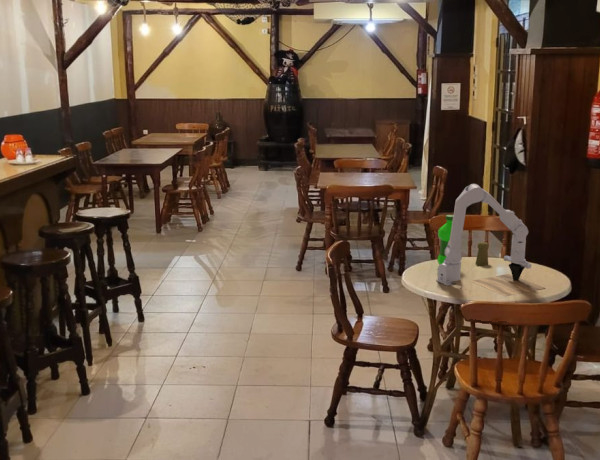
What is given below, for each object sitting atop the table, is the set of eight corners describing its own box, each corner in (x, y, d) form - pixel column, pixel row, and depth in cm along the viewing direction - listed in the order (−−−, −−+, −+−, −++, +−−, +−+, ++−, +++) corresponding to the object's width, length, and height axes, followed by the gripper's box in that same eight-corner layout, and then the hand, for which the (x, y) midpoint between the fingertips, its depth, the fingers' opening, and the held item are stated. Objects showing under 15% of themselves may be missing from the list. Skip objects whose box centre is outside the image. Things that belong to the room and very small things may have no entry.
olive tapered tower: (486, 262, 323) (487, 240, 320) (490, 266, 317) (491, 243, 314) (473, 262, 322) (475, 240, 320) (477, 266, 317) (479, 244, 314)
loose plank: (532, 294, 278) (532, 290, 277) (496, 279, 297) (496, 276, 297) (545, 291, 281) (545, 288, 280) (508, 277, 300) (508, 273, 300)
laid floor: (505, 299, 271) (505, 296, 271) (469, 284, 291) (469, 280, 290) (531, 294, 278) (531, 291, 277) (494, 279, 297) (495, 276, 296)
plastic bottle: (444, 263, 322) (447, 212, 316) (463, 267, 314) (466, 216, 308) (432, 267, 315) (434, 215, 309) (451, 272, 308) (454, 219, 302)
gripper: (537, 253, 283) (535, 283, 287) (513, 245, 296) (511, 274, 299) (525, 255, 280) (522, 285, 284) (500, 247, 293) (498, 276, 296)
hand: (515, 280), depth 291 cm, fingers closed, pressing on loose plank
